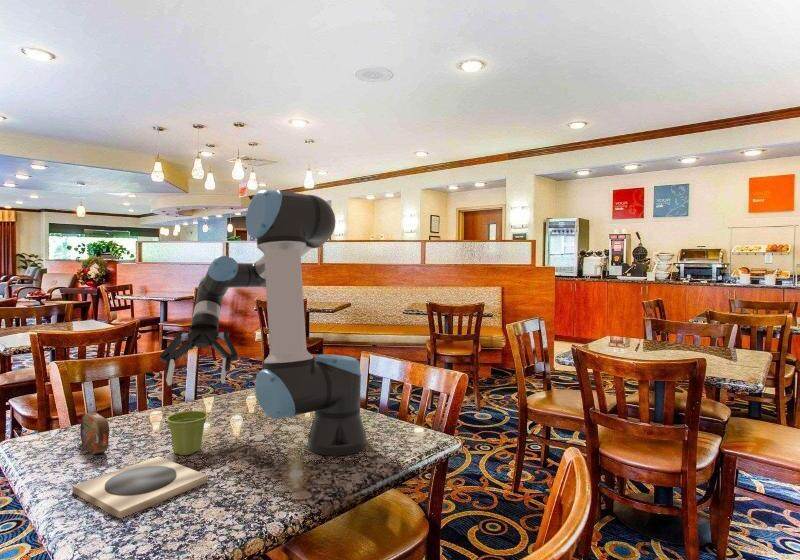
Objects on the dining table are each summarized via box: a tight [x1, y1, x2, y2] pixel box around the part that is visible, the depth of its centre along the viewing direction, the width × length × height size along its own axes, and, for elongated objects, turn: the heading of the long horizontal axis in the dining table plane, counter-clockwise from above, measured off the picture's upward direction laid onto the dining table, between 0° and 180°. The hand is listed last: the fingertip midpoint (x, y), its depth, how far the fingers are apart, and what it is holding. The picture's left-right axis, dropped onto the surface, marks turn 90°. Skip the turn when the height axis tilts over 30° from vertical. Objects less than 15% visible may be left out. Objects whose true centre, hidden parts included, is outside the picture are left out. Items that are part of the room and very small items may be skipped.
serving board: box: [71, 455, 208, 519], centre depth 99 cm, size 18×18×2 cm
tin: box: [79, 412, 110, 455], centre depth 119 cm, size 15×3×8 cm, turn 47°
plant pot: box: [165, 410, 209, 456], centre depth 118 cm, size 9×9×9 cm
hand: (195, 381), depth 128 cm, fingers open, 13 cm apart
